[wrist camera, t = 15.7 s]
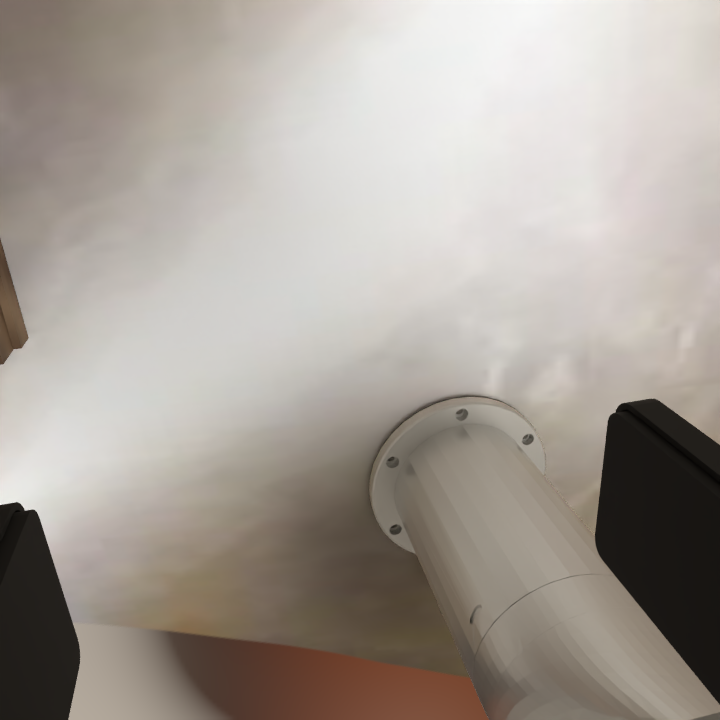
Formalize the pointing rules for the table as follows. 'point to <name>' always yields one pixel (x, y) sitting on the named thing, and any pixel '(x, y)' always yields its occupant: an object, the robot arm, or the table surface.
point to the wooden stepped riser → (9, 314)
